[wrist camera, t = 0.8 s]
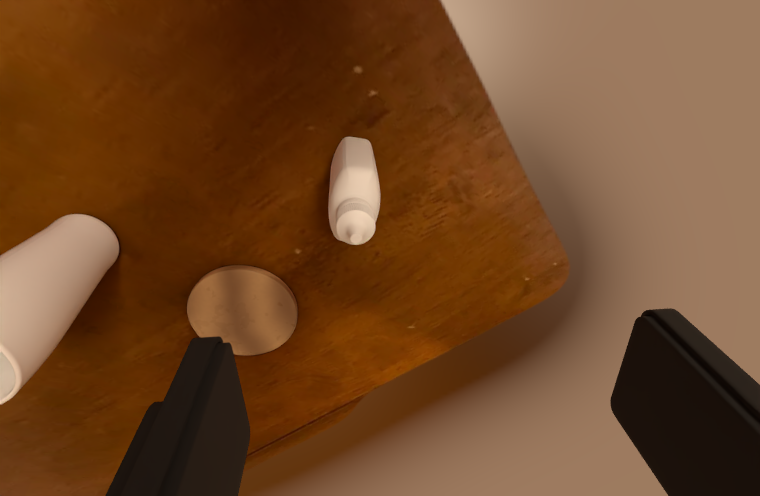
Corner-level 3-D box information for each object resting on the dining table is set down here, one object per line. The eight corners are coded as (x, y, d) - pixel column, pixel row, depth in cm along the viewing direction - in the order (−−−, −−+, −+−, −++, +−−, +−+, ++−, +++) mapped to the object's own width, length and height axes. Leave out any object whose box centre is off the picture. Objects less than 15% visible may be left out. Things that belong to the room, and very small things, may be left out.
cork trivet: (272, 251, 39) (271, 256, 39) (313, 334, 44) (312, 339, 44) (168, 282, 40) (165, 287, 39) (219, 361, 45) (217, 366, 44)
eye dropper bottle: (309, 180, 36) (297, 253, 26) (351, 125, 35) (355, 180, 24) (352, 209, 38) (356, 289, 28) (394, 159, 36) (416, 223, 26)
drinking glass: (68, 186, 35) (-94, 296, 22) (146, 237, 38) (43, 363, 25) (28, 242, 37) (-141, 373, 24) (106, 287, 40) (-10, 427, 27)
